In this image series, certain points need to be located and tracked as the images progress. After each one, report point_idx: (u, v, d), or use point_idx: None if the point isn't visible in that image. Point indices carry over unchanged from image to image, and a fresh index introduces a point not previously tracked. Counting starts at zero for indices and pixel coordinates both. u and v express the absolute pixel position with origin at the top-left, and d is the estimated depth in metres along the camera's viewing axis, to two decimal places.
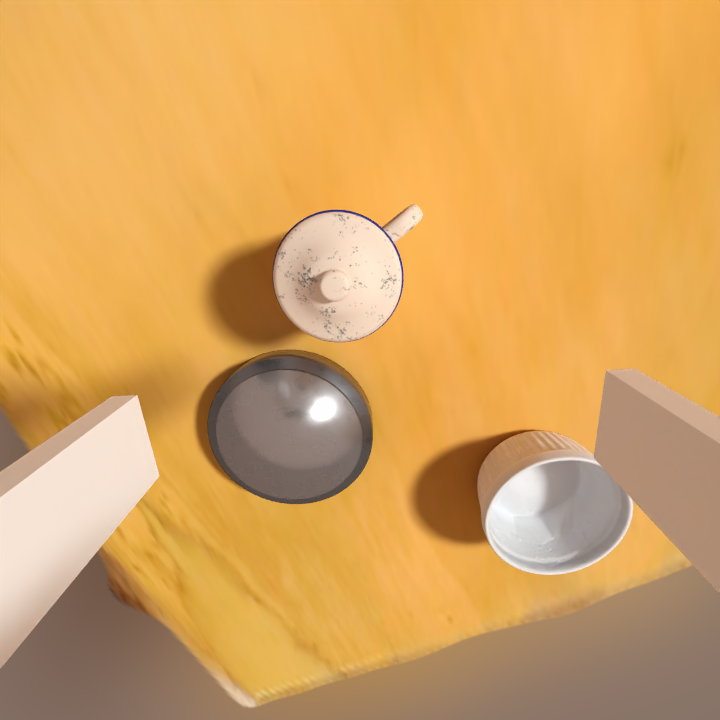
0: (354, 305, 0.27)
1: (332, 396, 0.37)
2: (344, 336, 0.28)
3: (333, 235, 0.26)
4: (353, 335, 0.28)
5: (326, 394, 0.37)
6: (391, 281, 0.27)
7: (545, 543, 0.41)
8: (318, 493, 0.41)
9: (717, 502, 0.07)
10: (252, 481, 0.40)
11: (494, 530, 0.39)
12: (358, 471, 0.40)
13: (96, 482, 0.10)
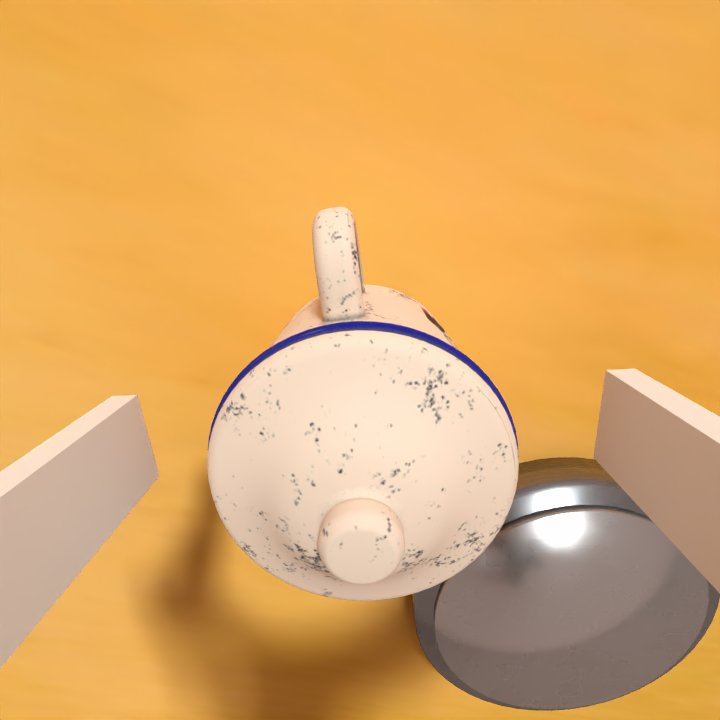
0: (436, 508, 0.10)
1: (555, 529, 0.19)
2: (485, 538, 0.12)
3: (259, 451, 0.10)
4: (496, 521, 0.11)
5: (545, 535, 0.19)
6: (438, 385, 0.10)
7: None
8: (692, 637, 0.21)
9: (717, 502, 0.07)
10: (589, 697, 0.23)
11: None
12: None
13: (96, 482, 0.10)
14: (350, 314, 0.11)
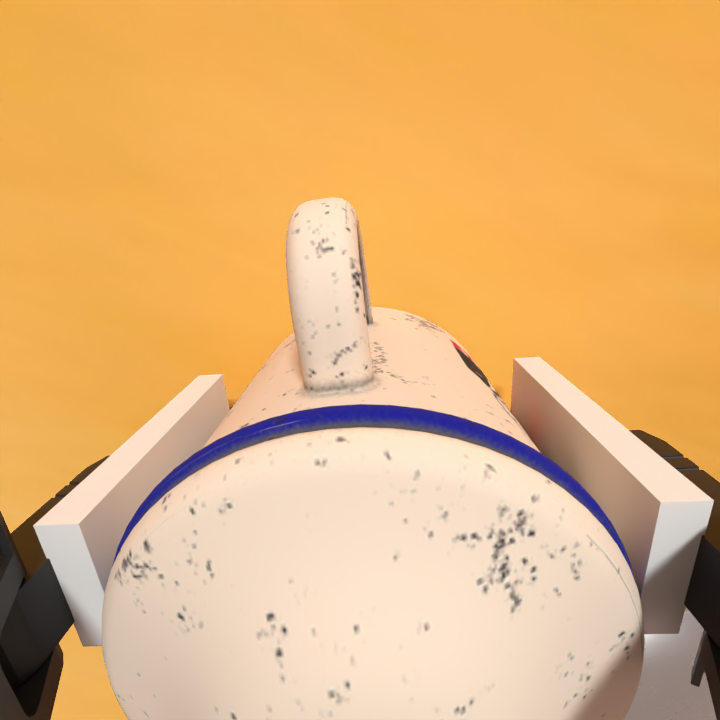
0: None
1: None
2: None
3: (178, 649, 0.06)
4: None
5: None
6: (517, 540, 0.05)
7: None
8: None
9: (571, 465, 0.09)
10: None
11: None
12: None
13: (200, 449, 0.11)
14: (349, 380, 0.07)
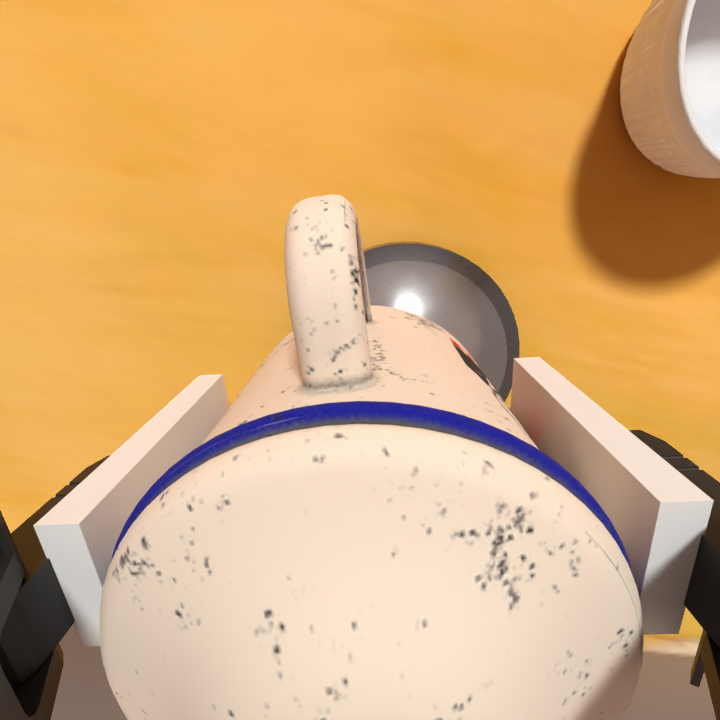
0: None
1: (384, 276, 0.26)
2: None
3: (175, 646, 0.06)
4: None
5: (377, 281, 0.26)
6: (515, 536, 0.05)
7: None
8: (499, 380, 0.28)
9: (571, 465, 0.09)
10: None
11: None
12: (508, 312, 0.27)
13: None
14: (347, 377, 0.07)
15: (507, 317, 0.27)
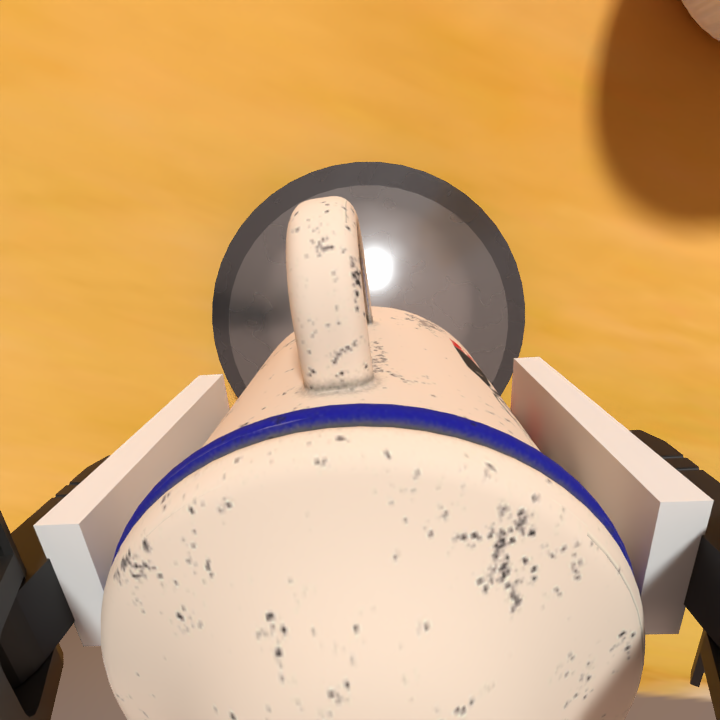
0: None
1: None
2: None
3: (177, 648, 0.06)
4: None
5: None
6: (517, 539, 0.05)
7: None
8: (498, 356, 0.20)
9: (571, 465, 0.09)
10: None
11: None
12: (508, 261, 0.19)
13: None
14: (349, 379, 0.07)
15: (507, 267, 0.19)
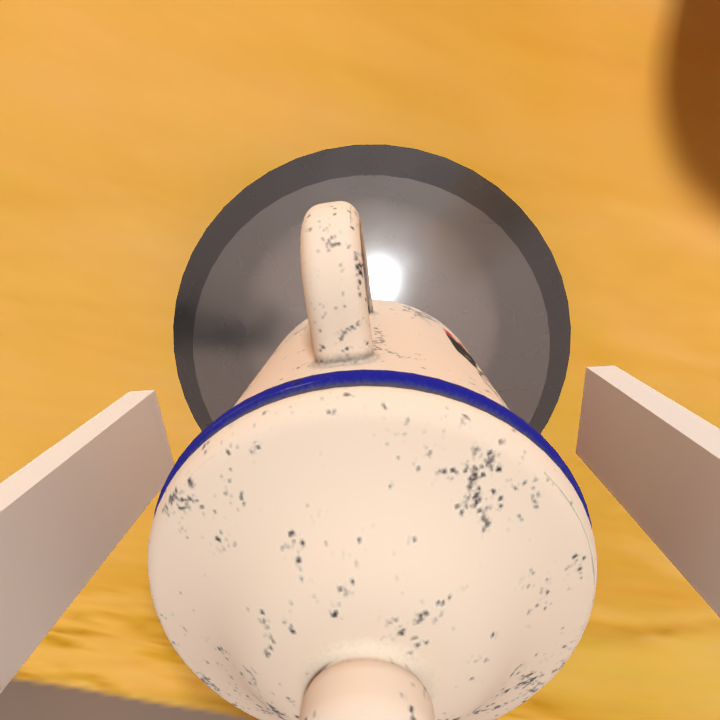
0: (482, 664, 0.06)
1: None
2: (545, 676, 0.08)
3: (215, 565, 0.07)
4: (563, 655, 0.08)
5: None
6: (487, 474, 0.06)
7: None
8: (536, 394, 0.16)
9: (685, 492, 0.08)
10: None
11: None
12: (551, 274, 0.15)
13: (118, 474, 0.10)
14: (353, 354, 0.08)
15: (550, 282, 0.15)
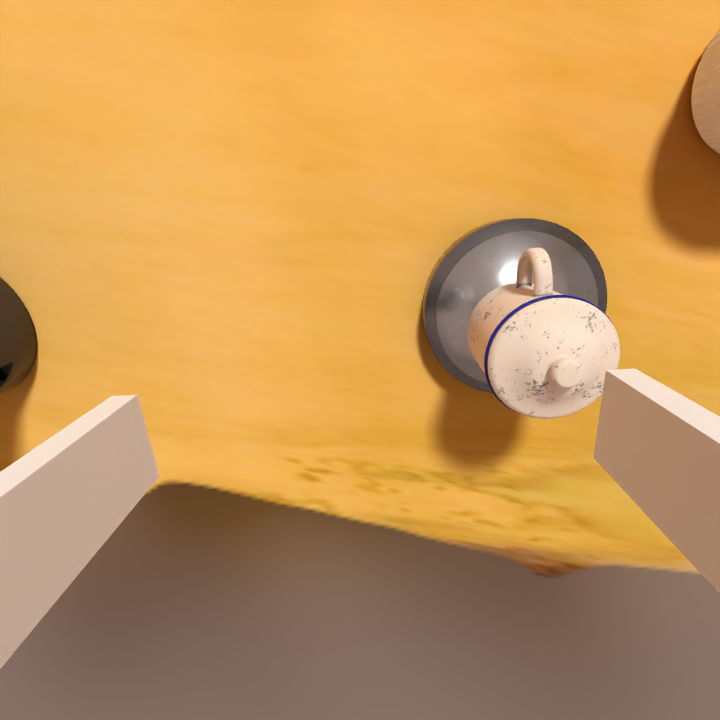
0: (591, 364, 0.26)
1: (504, 243, 0.34)
2: None
3: (520, 344, 0.27)
4: None
5: (498, 248, 0.34)
6: (592, 318, 0.26)
7: None
8: None
9: (717, 502, 0.07)
10: None
11: None
12: (599, 271, 0.35)
13: (96, 482, 0.10)
14: (548, 293, 0.28)
15: (598, 275, 0.35)
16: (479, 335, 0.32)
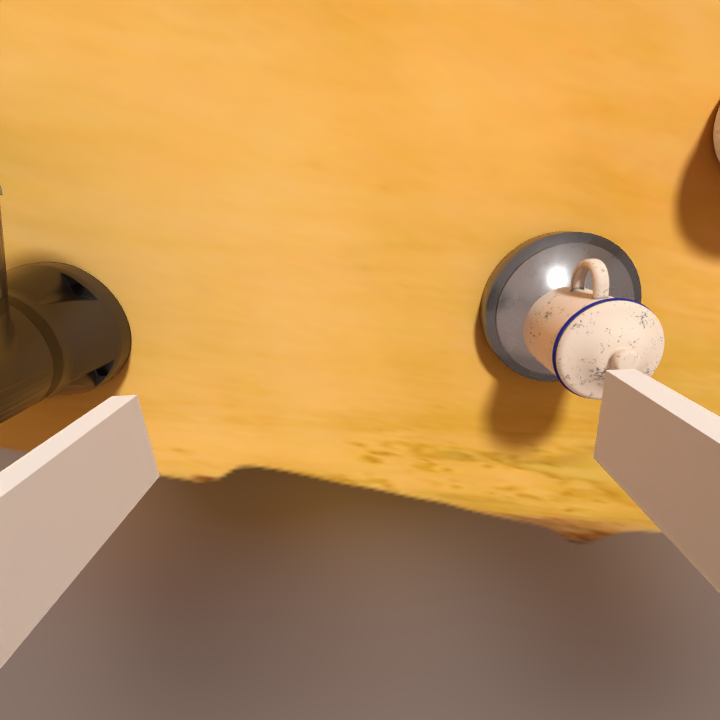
0: (643, 354, 0.33)
1: (558, 253, 0.40)
2: (651, 372, 0.34)
3: (586, 338, 0.33)
4: (655, 365, 0.34)
5: (552, 257, 0.40)
6: (644, 317, 0.33)
7: None
8: None
9: (717, 502, 0.07)
10: None
11: None
12: (635, 276, 0.41)
13: (96, 482, 0.10)
14: (605, 296, 0.34)
15: (634, 279, 0.41)
16: (542, 331, 0.38)
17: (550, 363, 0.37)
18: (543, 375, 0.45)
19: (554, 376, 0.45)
